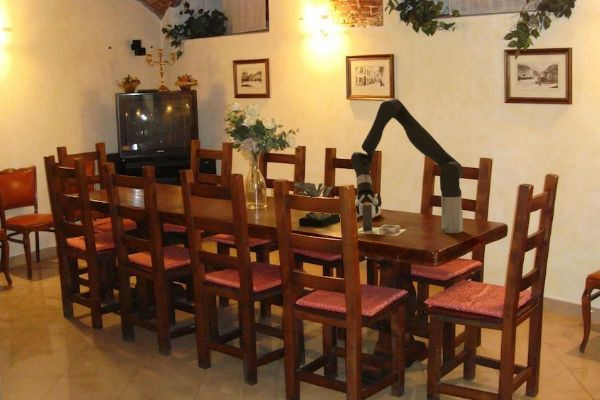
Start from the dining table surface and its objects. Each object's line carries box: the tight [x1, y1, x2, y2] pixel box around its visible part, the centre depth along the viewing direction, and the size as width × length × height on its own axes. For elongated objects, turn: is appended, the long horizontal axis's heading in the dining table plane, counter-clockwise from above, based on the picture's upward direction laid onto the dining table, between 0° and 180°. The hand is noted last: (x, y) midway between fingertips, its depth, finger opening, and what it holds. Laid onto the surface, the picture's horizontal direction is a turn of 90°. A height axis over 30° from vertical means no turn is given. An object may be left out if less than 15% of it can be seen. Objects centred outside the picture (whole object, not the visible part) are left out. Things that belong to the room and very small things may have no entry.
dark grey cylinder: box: [362, 202, 373, 231], centre depth 357 cm, size 4×4×13 cm
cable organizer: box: [355, 193, 382, 219], centre depth 398 cm, size 15×11×12 cm
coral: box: [293, 180, 341, 228], centre depth 385 cm, size 25×20×22 cm
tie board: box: [357, 224, 407, 237], centre depth 355 cm, size 22×14×4 cm, turn 63°
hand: (367, 213), depth 356 cm, fingers open, 8 cm apart
